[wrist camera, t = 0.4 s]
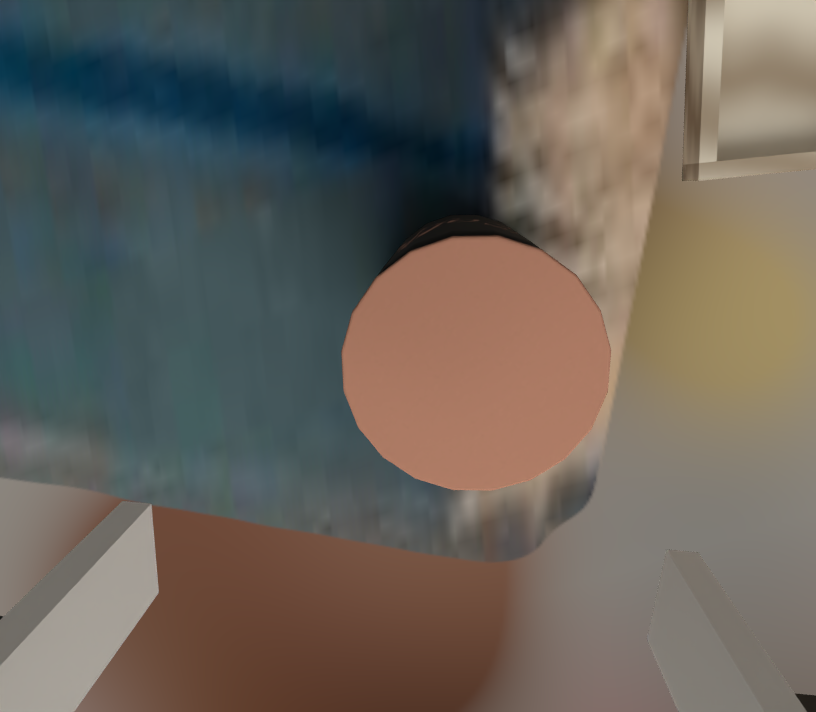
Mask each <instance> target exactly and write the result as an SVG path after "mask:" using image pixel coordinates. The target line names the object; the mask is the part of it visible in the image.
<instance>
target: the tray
mask: <svg viewBox="0 0 816 712" xmlns="http://www.w3.org/2000/svg"><path fill="white" fill-rule="evenodd" d="M686 56H687V58H686V84H685V112H684V142H683V169H682V181H699V180H709V179H720V178H730V177H740V176H750V175H760V174H771V173H780V172H791V171H801V170H811V169H816V0H688V27H687V55H686Z"/></svg>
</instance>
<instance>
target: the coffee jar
mask: <svg viewBox="0 0 816 712" xmlns="http://www.w3.org/2000/svg"><path fill="white" fill-rule="evenodd" d="M341 352H342V370H343V388H344V393H345V395H346V398H347V400H348V403H349V405H350V408H351V410H352V413H353V415H354V418H355V420H356V423H357V425H358V427H359V429H360V430H361V431H362V432H363V433H364V435H365V436H366V437H367V438H368V439H369V441H370V442H371V443H372V444H373V446H374V447H375V448H376V449H377V450H378V452H379V453H380V454H381V455H382V456H383V457H384V458H385V459H387V460H388V461H390V462H391V463H393V464H394V465H396V466H397V467H399V468H400V469H402V470H403V471H405V472H406V473H408V474H409V475H411V476H413V477H414V478H416V479H419V480H422V481H426V482H429V483H432V484H436V485H439V486H442V487H445V488H449V489H452V490H495V489H499V488H503V487H507V486H510V485H514V484H518V483H521V482H525V481H529V480H532V479H533V478H535V477H536V476H538V475H540V474H541V473H543V472H545V471H546V470H548V469H549V468H551V467H553V466H554V465H556V464H558V463H559V462H561V461H563V460H564V459H565V458H566V457H567V456H568V455H569V454H570V453H571V452H572V450H573V449H574V448H575V447H576V446H577V445H578V444H579V443H580V441H581V440H582V439H583V438H584V437H585V436H586V435H587V434H588V432H589V431H590V430H591V429H592V427H593V424H594V422H595V420H596V417H597V415H598V413H599V411H600V408H601V406H602V404H603V401H604V399H605V397H606V395H607V392H608V383H609V371H610V358H611V348H610V344H609V340H608V337H607V333H606V329H605V325H604V321H603V318H602V314H601V310H600V309H599V307H598V306H597V304H596V303H595V301H594V300H593V299H592V297H591V296H590V294H589V293H588V291H587V290H586V288H585V287H584V285H583V284H582V282H581V281H580V279H579V278H578V277H577V275H576V274H574V273H573V272H572V271H570V270H569V269H568V268H566V267H565V266H563V265H562V264H561V263H559V262H558V261H557V260H555V259H554V258H553V257H551V256H550V255H548V254H547V253H546V252H544V251H543V250H542V249H540V248H539V247H537V246H536V245H535V244H533V243H532V242H530V241H529V240H527V239H526V238H524V237H523V236H521V235H520V234H518V233H517V232H515V231H514V230H512V229H510V228H509V227H507V226H506V225H504V224H503V223H501V222H498V221H495V220H492V219H489V218H486V217H482V216H479V215H450V216H447V217H444V218H441V219H438V220H436V221H433V222H430V223H427V224H425V225H424V226H423V227H422V228H420V229H419V230H418V231H416V232H415V233H414V234H412V235H411V236H410V237H409V238H407V239H406V240H405V241H404V243H403V244H402V245H401V246H400V248H399V249H398V250H397V251H396V252H395V254H394V255H393V256H392V257H391V259H390V260H389V261H388V262H387V264H386V265H385V266H384V267H383V269H382V270H381V272H380V273H379V275H378V276H377V277H376V278H375V279H374V281H373V282H372V284H371V285H370V287H369V288H368V290H367V291H366V293H365V294H364V296H363V297H362V298H361V300H360V301H359V303H358V304H357V306H356V307H355V309H354V310H353V312H352V315H351V318H350V322H349V326H348V329H347V333H346V336H345V340H344V344H343V347H342V351H341Z"/></svg>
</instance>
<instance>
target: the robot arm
mask: <svg viewBox="0 0 816 712" xmlns="http://www.w3.org/2000/svg"><path fill="white" fill-rule="evenodd" d="M158 593H159V591H158V579H157V567H156V555H155V544H154V532H153V519H152V507H151V504H148V503H137V502H126V501H122V502H121V503H120V504H119V505H118V506H117V507H116V508H115V509H114V510H113V511H112V512H111V513H110V514H109V515H108V516H107V517H106V518H105V519H104V520H103V521H102V522H101V523H100V524H99V525H97V526H96V527H95V528H94V529H93V530H92V532H90V533H89V534H88V535H87V536H86V537H85V538H84V539H83V540H82V541H81V542H80V543H79V544H78V545H77V546H76V547H75V548H74V549H73V550H72V551H71V552H70V553H69V554H68V555H67V556H65V558H63V559H62V561H61V562H59V563H58V564H57V565H56V566H55V567H54V568H53V569H52V570H51V571H50V572H49V573H48V574H47V575H46V576H45V577H44V578H43V579H42V580H41V581H40V582H39V583H38V584H37V585H36V586H35V587H34V588H32V589H31V590H30V591H29V592H28V594H26V595H25V596H24V597H23V598H22V599H21V600H20V601H19V602H18V603H17V604H16V605H15V606H14V607H13V608H12V609H11V610H10V611H9V612H8V613H7V614H6V615H5V616H0V712H74V711H75V710H76V708H77V707H78V705H79V704H80V703H81V701H82V700H83V698H84V697H85V695H86V694H87V693H88V691H89V690H90V688H91V687H92V685H93V684H94V683H95V681H96V680H97V678H98V677H99V676H100V674H101V673H102V672H103V670H104V669H105V667H106V666H107V664H108V663H109V662H110V660H111V659H112V657H113V656H114V655H115V653H116V652H117V650H118V649H119V648H120V646H121V645H122V643H123V642H124V641H125V639H126V638H127V636H128V635H129V634H130V632H131V631H132V629H133V628H134V627H135V625H136V624H137V622H138V621H139V619H140V618H141V617H142V615H143V614H144V612H145V611H146V610H147V608H148V607H149V605H150V604H151V603H152V601H153V600H154V598H155V597H156V595H157V594H158ZM647 641H648V644H649V646H650V648H651V651H652V653H653V655H654V657H655V660H656V662H657V664H658V666H659V669H660V671H661V673H662V676H663V678H664V680H665V682H666V685H667V687H668V689H669V692H670V694H671V696H672V698H673V701H674V703H675V705H676V707H677V710H678V712H816V696H814V695H803V694H795V693H794V692H793V691H792V689H791V688H790V686H789V685H788V683H787V682H786V680H785V679H784V677H783V676H782V674H781V673H780V672H779V670H778V669H777V667H776V666H775V664H774V663H773V661H772V660H771V658H770V657H769V655H768V654H767V653H766V651H765V650H764V648H763V647H762V645H761V644H760V642H759V641H758V639H757V638H756V637H755V635H754V633H753V632H752V631H751V629H750V628H749V626H748V625H747V623H746V622H745V620H744V619H743V617H742V616H741V615H740V613H739V612H738V610H737V609H736V607H735V606H734V604H733V603H732V601H731V600H730V598H729V597H728V595H727V594H726V593H725V591H724V590H723V588H722V587H721V585H720V584H719V582H718V581H717V579H716V578H715V577H714V575H713V573H712V572H711V571H710V569H709V568H708V566H707V565H706V563H705V562H704V560H703V559H702V558H701V556H700V554H699V553H698V552H689V551H677V550H666V554H665V559H664V564H663V568H662V573H661V577H660V582H659V586H658V590H657V595H656V600H655V604H654V609H653V613H652V618H651V623H650V627H649V632H648V636H647Z"/></svg>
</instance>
